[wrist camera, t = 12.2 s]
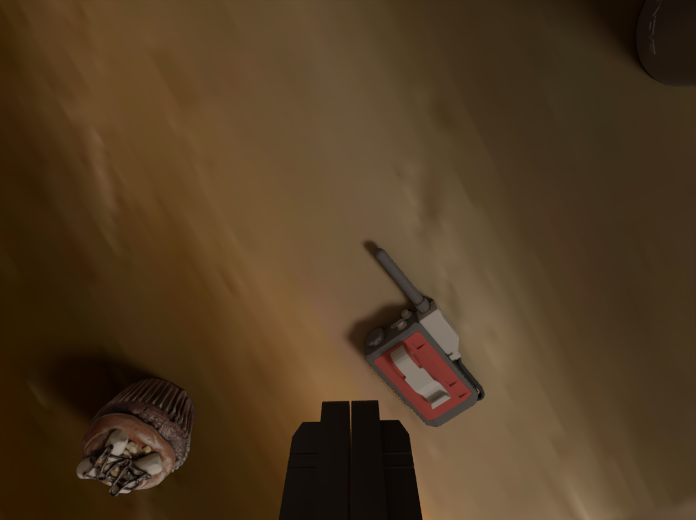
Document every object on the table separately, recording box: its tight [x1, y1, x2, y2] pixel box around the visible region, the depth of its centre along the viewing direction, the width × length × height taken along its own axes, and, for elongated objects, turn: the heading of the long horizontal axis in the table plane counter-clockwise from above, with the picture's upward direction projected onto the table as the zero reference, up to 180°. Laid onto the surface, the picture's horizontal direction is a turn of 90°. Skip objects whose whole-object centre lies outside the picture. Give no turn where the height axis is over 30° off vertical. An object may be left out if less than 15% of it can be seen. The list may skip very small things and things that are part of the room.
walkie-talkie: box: [365, 248, 485, 427], centre depth 45 cm, size 9×4×20 cm
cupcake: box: [77, 378, 195, 496], centre depth 44 cm, size 10×10×10 cm
